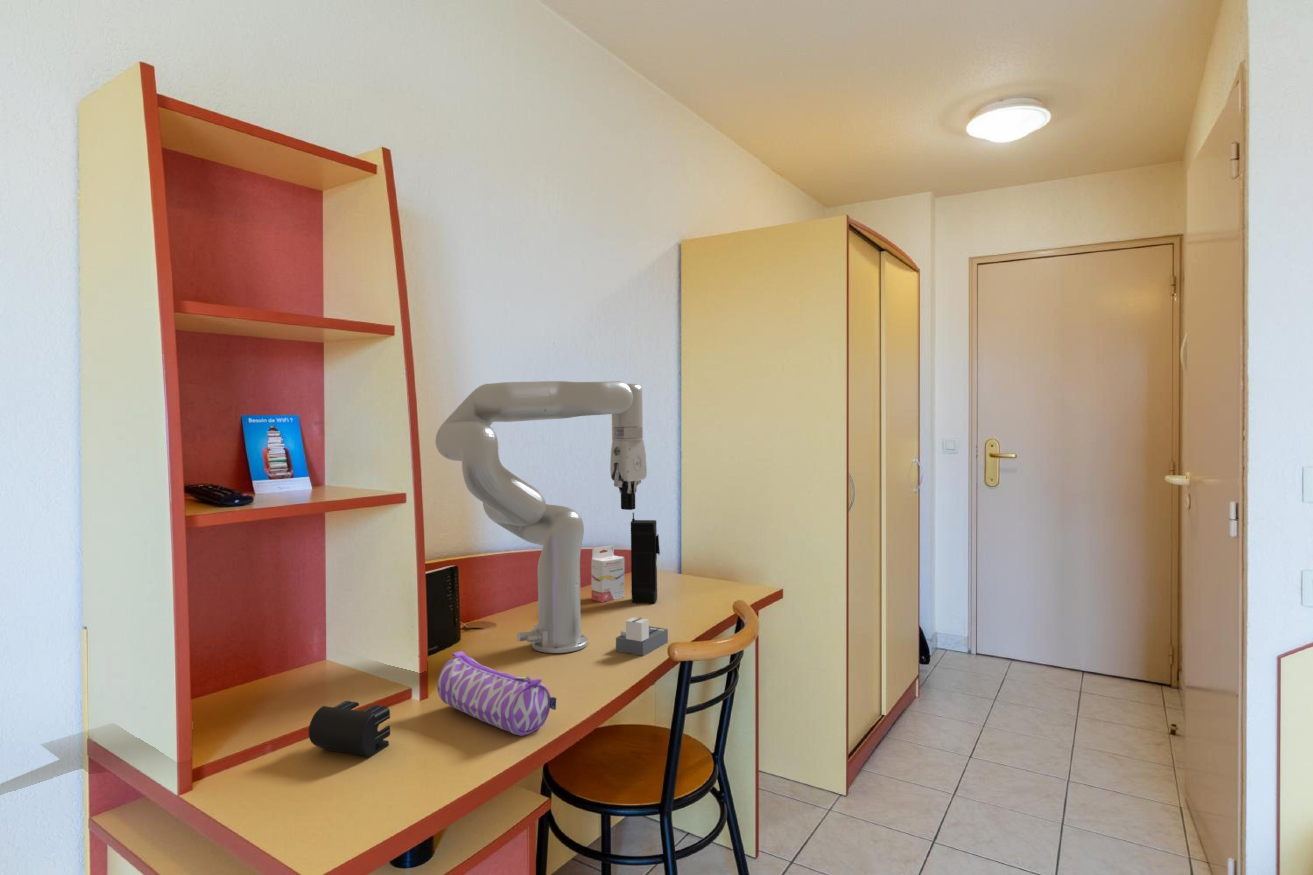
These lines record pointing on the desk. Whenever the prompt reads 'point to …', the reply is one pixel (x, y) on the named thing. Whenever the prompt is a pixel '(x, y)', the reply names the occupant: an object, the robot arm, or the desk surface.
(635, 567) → the portable radio
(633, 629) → the block
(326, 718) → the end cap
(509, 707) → the pencil case
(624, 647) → the console
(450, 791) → the desk surface
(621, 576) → the ink cartridge box
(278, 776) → the desk surface
